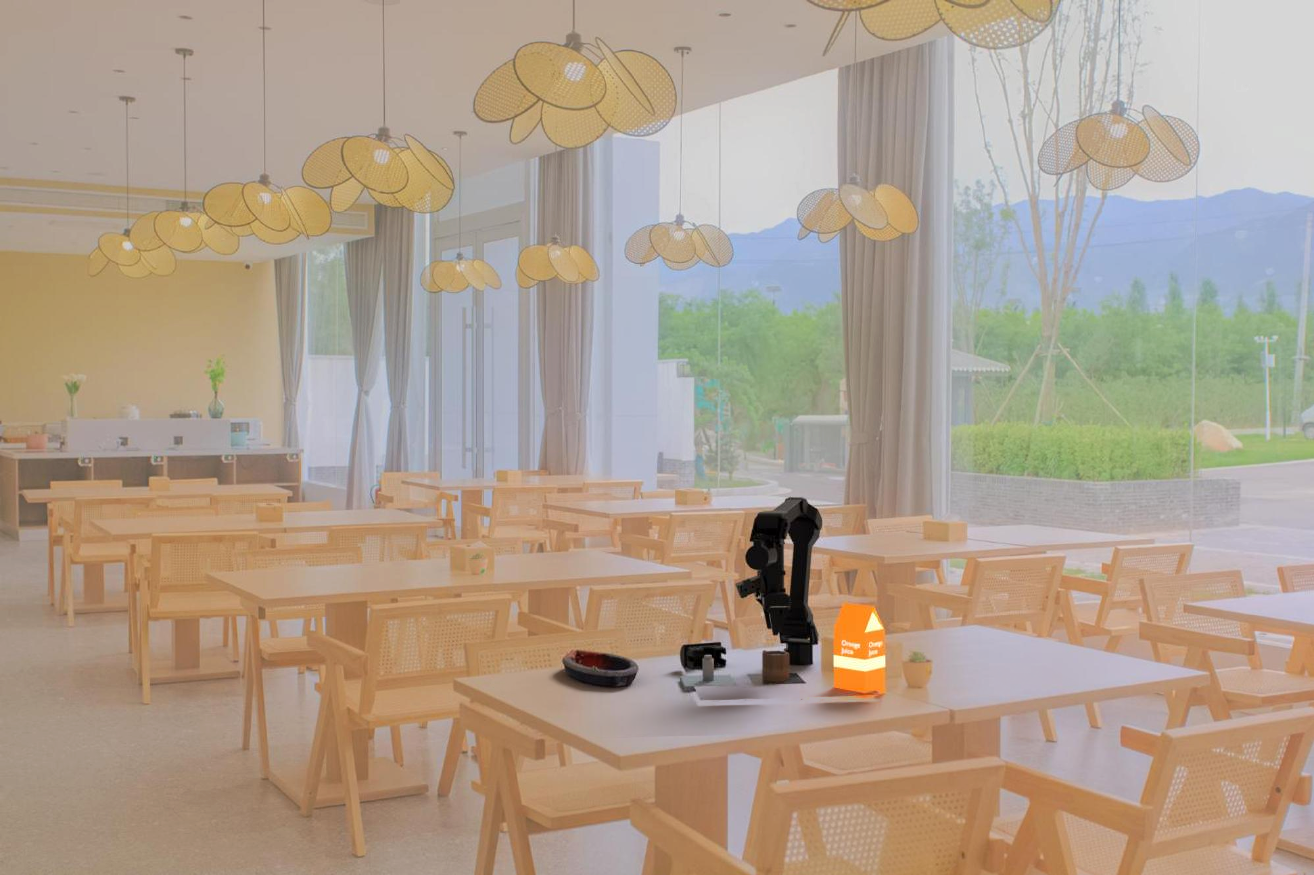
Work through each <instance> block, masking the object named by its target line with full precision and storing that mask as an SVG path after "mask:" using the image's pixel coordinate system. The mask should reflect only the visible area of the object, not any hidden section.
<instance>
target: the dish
mask: <svg viewBox="0 0 1314 875" xmlns="http://www.w3.org/2000/svg"><path fill="white" fill-rule="evenodd" d="M561 660H562V665H563V666H564V669H565V671H566V673H567V674H568V675H569V676H570V677H573V678H574V679H575V680H578V681H581V682H584V683H586V684H591V685H594V686H595V685H596V686H601V687H602V686H603V687H623V686H625V685H628V684H631V683H633V681H634V680H635V679H636V677H637V674H638V672H639V666H638V664H637V662H635V661H634V660H632V659H630V658H628V657H625V656H621V655H618V654H614V653H609V652H602V651H601V652H600V651H592V650H591V651H590V650H581V649H576V650H571V651H570V652H567V653H566V654H565V655H564V656H563V657H562V659H561Z"/></svg>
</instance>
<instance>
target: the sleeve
mask: <svg viewBox="0 0 1314 875" xmlns="http://www.w3.org/2000/svg"><path fill="white" fill-rule="evenodd" d="M761 654H762V656H761V657H762V658H761V661H762V662H761V666H762V669H761V670H762V673H761V674H762V678H763V679H764V680H767V681H786V680H789V679H790V673H791V671H790V668H791V667H790V666H791V665H790V662H789V653H788V652H785V651H784V650H762V653H761ZM771 654H781V655H771Z"/></svg>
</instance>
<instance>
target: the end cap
mask: <svg viewBox="0 0 1314 875" xmlns="http://www.w3.org/2000/svg"><path fill="white" fill-rule="evenodd" d="M704 655H712V658H713V659H714V669H717V668H725V667H726V666H727V659H725V658H723V657H722V655H727V649H726V647H724V646H722V642H720V641H714V642H702V643H691V644H690V643H689V644H688V643H687V644H683V645H682V646H681V647H680V652H679V660H680V664H681V667H682V668H683V669H684V670H685V672H687V670H686V667H687V668H690V669H692V670H703V662H702V659H703V658H704Z"/></svg>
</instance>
